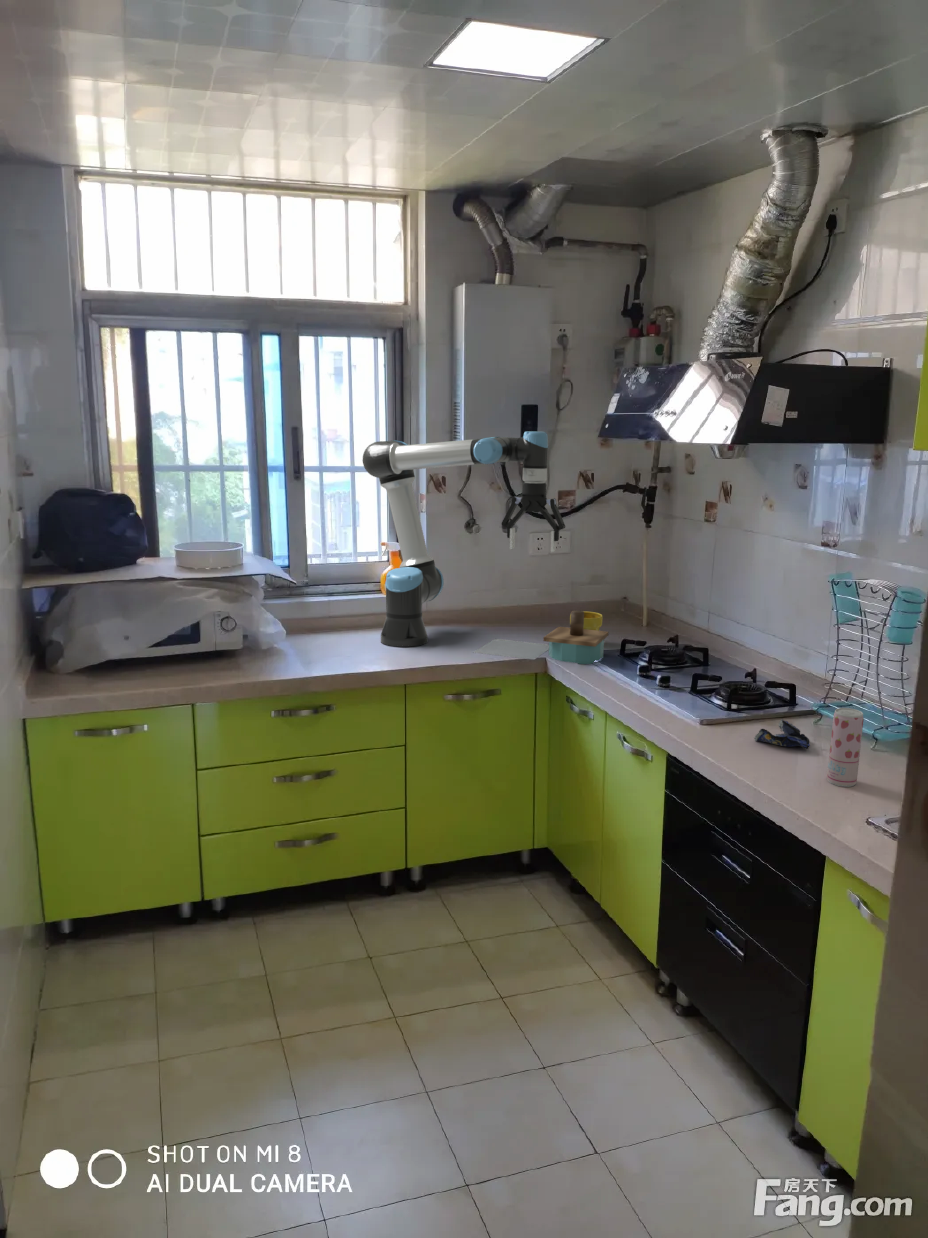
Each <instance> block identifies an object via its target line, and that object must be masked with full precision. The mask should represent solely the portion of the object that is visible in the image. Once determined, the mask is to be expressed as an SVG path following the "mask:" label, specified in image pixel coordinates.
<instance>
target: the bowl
mask: <svg viewBox="0 0 928 1238" xmlns="http://www.w3.org/2000/svg"><path fill="white" fill-rule="evenodd" d="M604 644H605V639H604V640H603V641H601V642H600V643H599V644H598V645H597V646H596V647H593V646H584V645H575V644H566V643H556V642H548V645H549V650H548V656H549V657H550V658H551V659H553V660H557V661H559V662H565V663H574V664H575V663H577V665H591V664H594V663H593V662H594V661H595V660H599V659H600V658H602V657H603V658H604V652H605V651H604V647H605V645H604Z"/></svg>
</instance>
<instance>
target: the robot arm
mask: <svg viewBox="0 0 928 1238" xmlns="http://www.w3.org/2000/svg"><path fill="white" fill-rule="evenodd" d="M548 437H549V436H548V434H547V432H546V431H532V430H531V431H530V430H529V431H528V430H527V431H524V433H523V436H522V437H510V436H508V437H505V436H492V437H484V438H477V439H463V440H461V439H460V440H453V441H452V440H451V441H439V442H438V441H437V442H429V443H427V442H426V443H417V444H408V443H406V442H404V441H400V440H396V439H395V440H385V441H383V440H382V441H374V442H372V443H370V444H369V445H368V446H367V447H366V448H365V449H364V452H363V455H362V465H363V468H364V469H365V471H366V472H367V473H368V474H369V475H370V476H371V477H374V478H377V479H379V483H380V486H381V488H384V489H385V490H386V494H387V498H388V502H389V506H390V511H391V515H392V520H393V524H394V528H395V532H396V536H397V541H398V546H399V548H400V554H401V557H402V562H401V564H400V565H399V567H398V568H397V567H396V568H393V569H391V570H389V571H388V572H387V573H386V577H385V620H384V623H383V625H382V626H383V627H382V629H381V633H380V643H382V645H385V646H391V647H398V648H399V647H403V648H407V647H417V646H422V645H425V644H427V643H428V633H427V629H426V626H425V623H424V620H423V604H425V603H428V602H431V601H432V600H434V599H435V598H437V597H438V596H439V595H440V594H441V592H442V590H443V589H444V584H445V583H444V582H445V581H444V580H445V579H444V576H443V573H442V571H441V570H440V569H439V568H437V567H436V564H435V563H436V562H435V560H434V559H435V558H434V557H432V556H431V555H429V553H428V548H427V545H426V541H425V535H424V531H423V527H422V523H421V518H420V514H419V510H418V506H417V501H416V496H415V493H414V489H413V482H414V481H415V479H416V476H415V471H414V470H422V469H434V468H436V469H437V468H446V467H447V468H448V467H449V468H450V467H461V466H474V465H493V464H496V463H497V464H498V463H506V462H507V463H508V462H510V463H522V481H523V483H522V484H521V485H522V487H521V490H522V491H521V497H518V496H512V498H511V504H510V506H509V508H508V509H507V511H506V514H505V515H504V517H503V519H502V521H501V525H502V526H503V527H506V536H507V539H509V550H514V549H515V542H516V527H514V526H515V525H516V523H517V522H518V521H519V520H520V519H521V518H522V517H523V515H524V514H525V513H526V512H528V513H540V514H541V515H542V516H543V518H545V520H546V521H547V523H548V524H549V525H550V527H551V529H553V530H551V531H550V533H551V534H550V535H551V537H550V553H554V552H556V549H557V548H556V547H557V542H559V540H560V531H561V530H564V529H566V525H565V522H564V520H563V517H562V516H561V513H560V511H559V508H558V506H557V499H556V498H555V497H554V498H549V499H548V498H547V483H546V482H547V480H548V455H549V441H548V440H549V439H548ZM520 503H521V505H522V507H521V508H520V509H519V510H518V512H517V513H516V514H515V515H514V517H512V516H513V514H514V513H515V510H516V508H517V507H518V505H519V504H520ZM547 504H548V506H549V507H550V509H551V512H552V513H553V517H554V518H555V519H554V518H553V517H552V515H551V514H550V512H549V511H548V508H546V505H547ZM511 518H512V519H511Z"/></svg>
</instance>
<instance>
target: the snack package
mask: <svg viewBox="0 0 928 1238" xmlns="http://www.w3.org/2000/svg"><path fill="white" fill-rule="evenodd" d="M778 728H779V729H780V732H782V733H781V734H780V733H775V734H772V733H771V732H770V731H768V730H767V729H765V728H760V730H759V731H758V732H757V734H755V736H754V737H753V739H754V741H755V742H764V743H769V744H772V745H777V746H781V747H801V748H804V749H805V750H808V749H809V748H810V746H811V745H810V741H811V740H810V739H809V738H808V736H806V735H805V733H801V729H799V728H798V727H797V726H795V725H793V724H792V723H789V721H787V720H784V719H783V718H782V719H780V721H779V722H778Z"/></svg>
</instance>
